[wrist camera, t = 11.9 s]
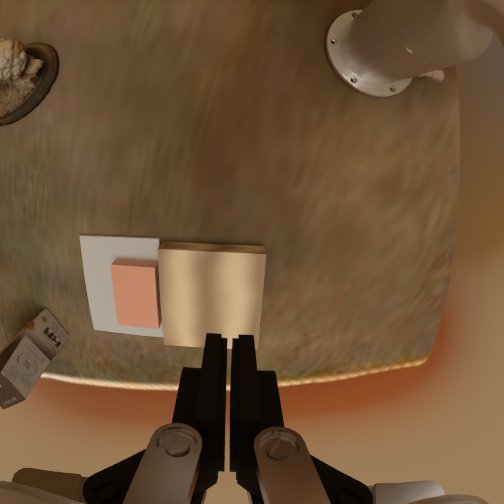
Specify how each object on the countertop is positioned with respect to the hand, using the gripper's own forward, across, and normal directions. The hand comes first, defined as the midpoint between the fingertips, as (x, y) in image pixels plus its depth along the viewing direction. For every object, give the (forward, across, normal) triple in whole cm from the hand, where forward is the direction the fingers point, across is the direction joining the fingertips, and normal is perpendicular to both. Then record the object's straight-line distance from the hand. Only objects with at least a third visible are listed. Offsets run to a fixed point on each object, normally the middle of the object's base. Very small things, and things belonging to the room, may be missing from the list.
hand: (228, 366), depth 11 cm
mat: (+29, +15, +12) cm, 35 cm away
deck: (+29, +2, +12) cm, 32 cm away
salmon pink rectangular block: (+27, +12, +12) cm, 32 cm away
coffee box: (+29, +32, +22) cm, 49 cm away
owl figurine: (+29, +34, -18) cm, 48 cm away
